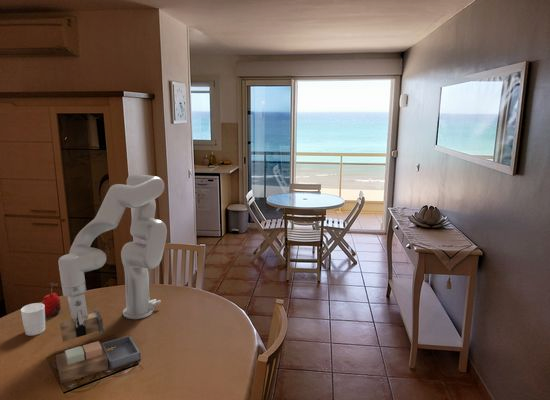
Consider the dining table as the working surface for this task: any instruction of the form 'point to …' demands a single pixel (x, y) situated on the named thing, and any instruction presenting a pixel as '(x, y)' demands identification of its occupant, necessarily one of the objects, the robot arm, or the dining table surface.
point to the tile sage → (74, 355)
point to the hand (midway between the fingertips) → (80, 332)
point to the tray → (121, 352)
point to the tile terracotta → (92, 350)
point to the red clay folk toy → (51, 303)
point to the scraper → (91, 325)
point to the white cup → (33, 318)
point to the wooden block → (80, 366)
